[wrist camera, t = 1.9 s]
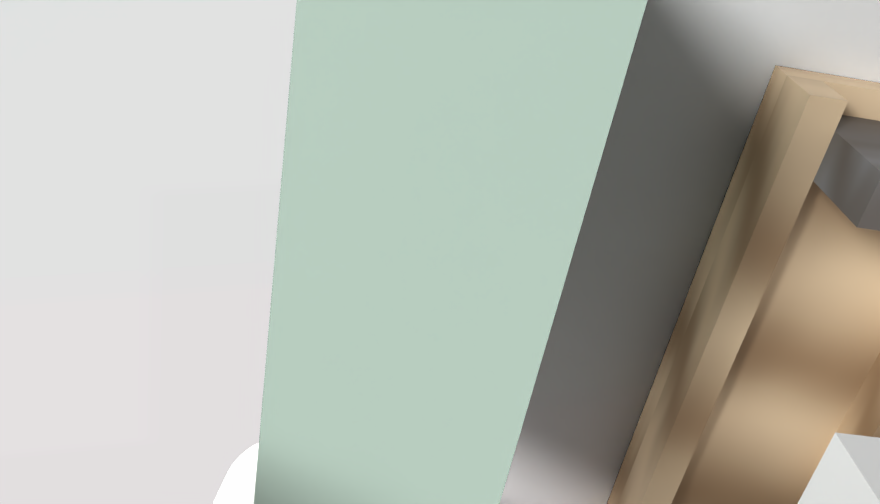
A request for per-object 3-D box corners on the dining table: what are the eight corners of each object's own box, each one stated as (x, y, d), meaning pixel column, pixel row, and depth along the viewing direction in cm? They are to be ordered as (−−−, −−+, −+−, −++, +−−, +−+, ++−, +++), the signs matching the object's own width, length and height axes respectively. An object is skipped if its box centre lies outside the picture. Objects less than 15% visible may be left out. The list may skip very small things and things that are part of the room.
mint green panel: (365, -183, 19) (306, -115, 9) (536, -150, 20) (667, -49, 9) (309, 311, 26) (239, 669, 16) (436, 327, 27) (448, 686, 16)
